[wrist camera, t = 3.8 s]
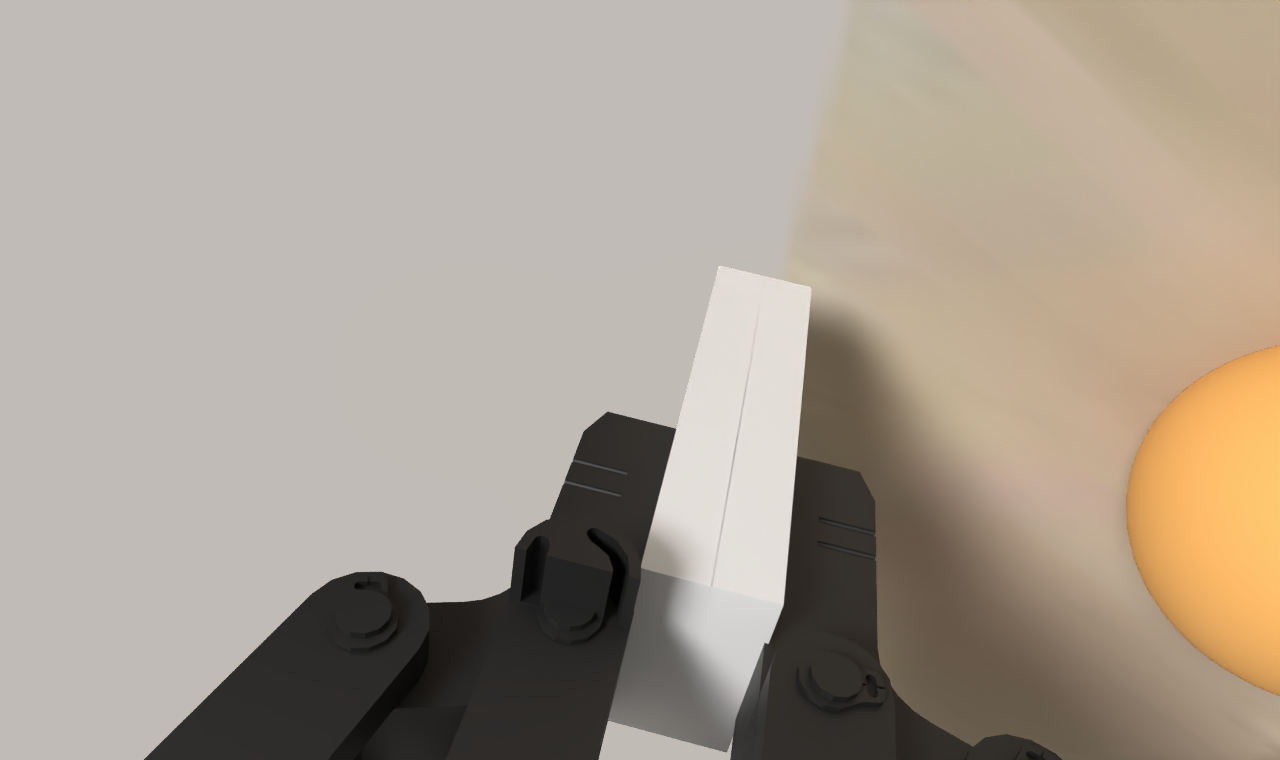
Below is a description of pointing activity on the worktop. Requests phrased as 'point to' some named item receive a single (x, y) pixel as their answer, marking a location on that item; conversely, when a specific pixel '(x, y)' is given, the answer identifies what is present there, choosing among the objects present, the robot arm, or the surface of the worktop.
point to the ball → (1216, 516)
